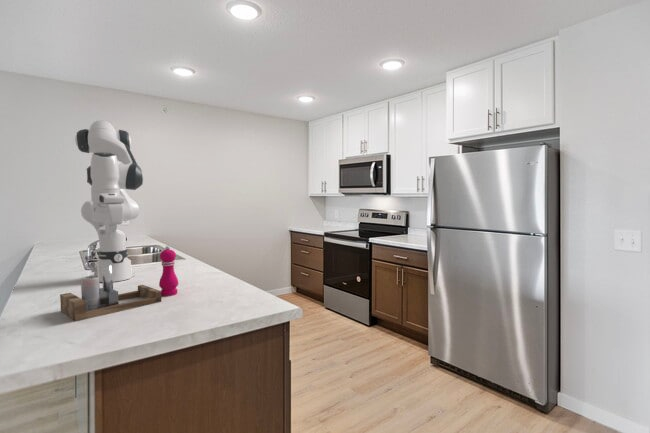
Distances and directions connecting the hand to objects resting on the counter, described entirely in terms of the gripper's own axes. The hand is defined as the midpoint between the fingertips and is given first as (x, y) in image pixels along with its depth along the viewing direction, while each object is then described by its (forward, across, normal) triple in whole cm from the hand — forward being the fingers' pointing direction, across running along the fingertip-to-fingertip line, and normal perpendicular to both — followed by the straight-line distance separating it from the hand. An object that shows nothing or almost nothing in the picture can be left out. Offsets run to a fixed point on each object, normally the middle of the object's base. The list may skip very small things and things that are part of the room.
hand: (107, 235), depth 130 cm
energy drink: (+26, +2, -6) cm, 27 cm away
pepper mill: (+26, +1, +22) cm, 34 cm away
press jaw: (+26, +1, -1) cm, 26 cm away
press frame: (+26, +2, +1) cm, 26 cm away
